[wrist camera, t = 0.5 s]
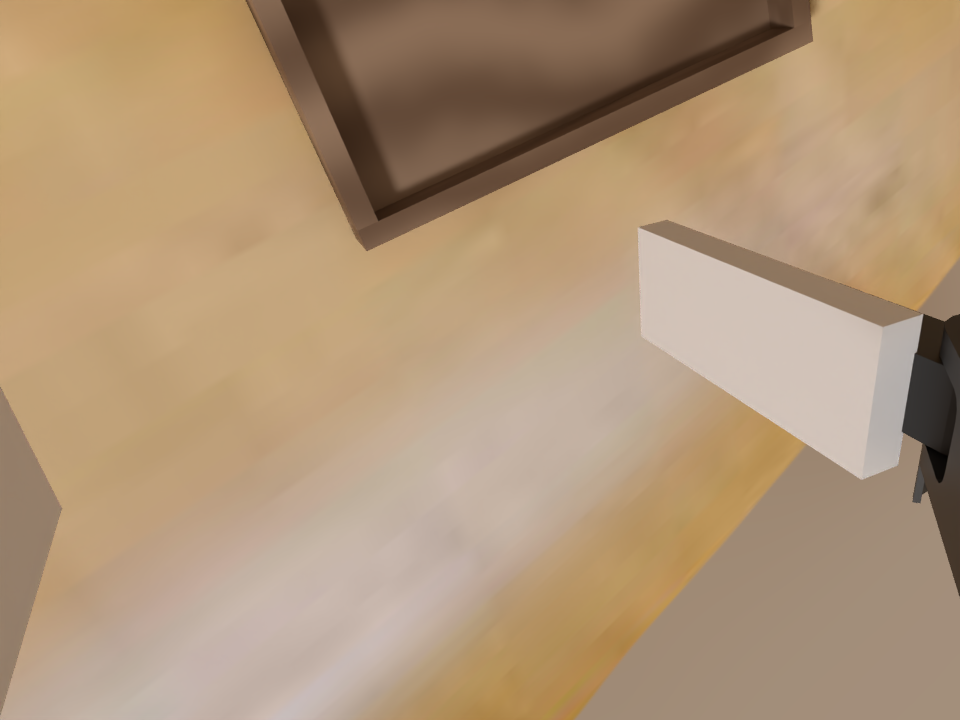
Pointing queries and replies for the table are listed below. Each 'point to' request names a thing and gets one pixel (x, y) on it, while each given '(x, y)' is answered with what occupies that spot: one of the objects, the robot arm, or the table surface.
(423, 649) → the table surface
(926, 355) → the robot arm
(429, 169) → the tray
